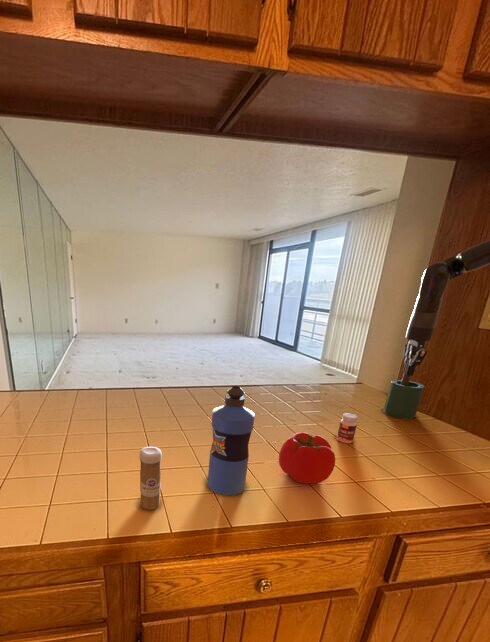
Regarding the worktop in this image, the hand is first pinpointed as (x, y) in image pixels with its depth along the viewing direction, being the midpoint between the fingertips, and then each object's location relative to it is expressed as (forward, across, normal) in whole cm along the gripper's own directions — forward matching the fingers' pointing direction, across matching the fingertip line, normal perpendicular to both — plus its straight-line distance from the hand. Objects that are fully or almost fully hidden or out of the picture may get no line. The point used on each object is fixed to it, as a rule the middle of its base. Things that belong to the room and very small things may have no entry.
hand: (407, 374), depth 125 cm
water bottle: (+16, -65, +60) cm, 90 cm away
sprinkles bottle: (+16, -77, +76) cm, 109 cm away
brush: (+13, 0, 0) cm, 13 cm away
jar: (+16, 0, -1) cm, 16 cm away
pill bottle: (+16, -30, +25) cm, 42 cm away
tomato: (+16, -56, +41) cm, 71 cm away
